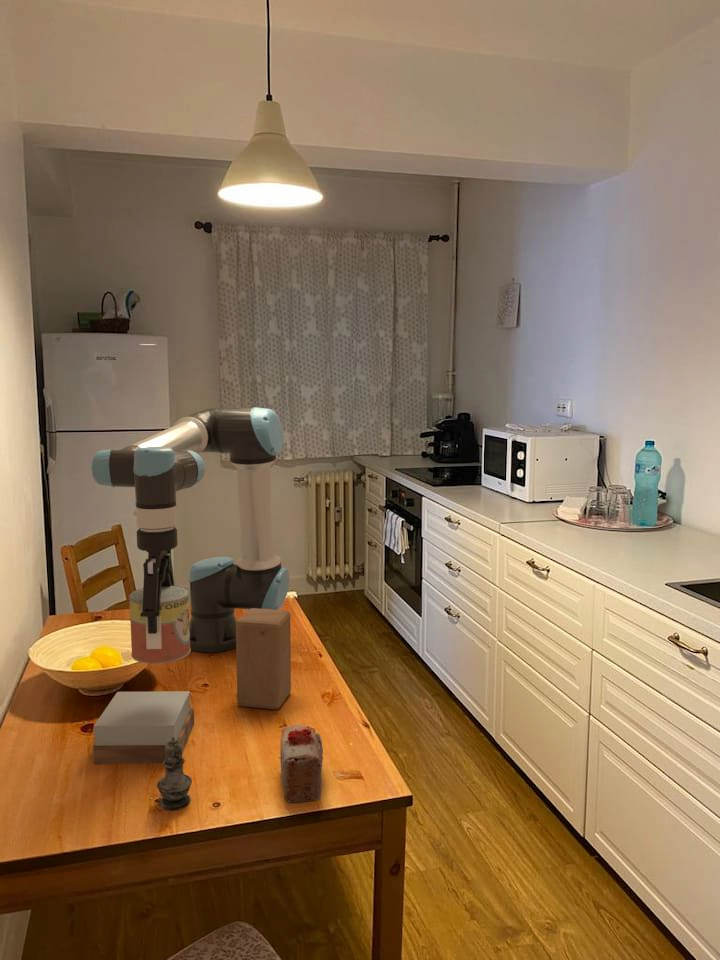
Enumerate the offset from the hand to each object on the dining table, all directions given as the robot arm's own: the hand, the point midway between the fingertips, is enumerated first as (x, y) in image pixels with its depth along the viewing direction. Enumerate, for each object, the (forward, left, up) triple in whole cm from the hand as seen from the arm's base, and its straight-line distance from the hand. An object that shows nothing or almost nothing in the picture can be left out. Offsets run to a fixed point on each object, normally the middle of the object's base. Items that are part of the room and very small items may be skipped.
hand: (160, 637), depth 147 cm
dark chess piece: (+21, +6, -22) cm, 31 cm away
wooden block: (-19, +18, -22) cm, 34 cm away
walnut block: (0, -4, -23) cm, 23 cm away
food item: (+15, +28, -22) cm, 39 cm away
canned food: (0, 0, -3) cm, 3 cm away
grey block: (0, -4, -19) cm, 19 cm away
